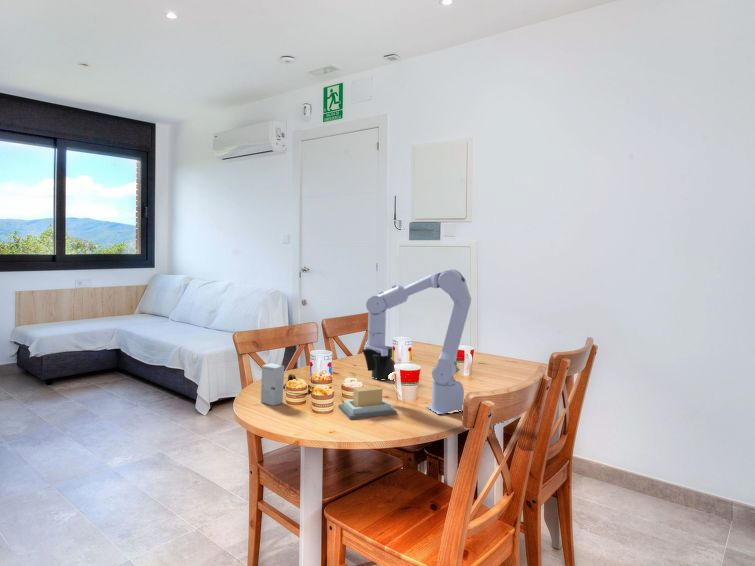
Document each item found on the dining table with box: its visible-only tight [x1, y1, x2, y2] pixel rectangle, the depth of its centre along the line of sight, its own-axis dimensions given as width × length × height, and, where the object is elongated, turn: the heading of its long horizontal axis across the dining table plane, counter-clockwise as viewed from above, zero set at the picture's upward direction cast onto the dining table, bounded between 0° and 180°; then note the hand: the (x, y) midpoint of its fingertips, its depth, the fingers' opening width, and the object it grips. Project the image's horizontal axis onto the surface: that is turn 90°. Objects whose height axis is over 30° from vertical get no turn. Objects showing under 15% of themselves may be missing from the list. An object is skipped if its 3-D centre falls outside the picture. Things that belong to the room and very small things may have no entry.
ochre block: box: [352, 385, 383, 407], centre depth 147 cm, size 4×8×6 cm, turn 113°
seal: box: [283, 373, 312, 393], centre depth 169 cm, size 9×5×15 cm
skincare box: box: [260, 362, 285, 406], centre depth 152 cm, size 6×4×12 cm
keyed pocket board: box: [337, 398, 397, 420], centre depth 147 cm, size 15×11×2 cm
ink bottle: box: [371, 345, 396, 380], centre depth 186 cm, size 10×9×12 cm
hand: (375, 373), depth 156 cm, fingers open, 7 cm apart
